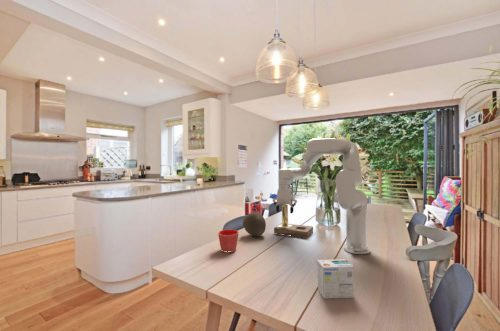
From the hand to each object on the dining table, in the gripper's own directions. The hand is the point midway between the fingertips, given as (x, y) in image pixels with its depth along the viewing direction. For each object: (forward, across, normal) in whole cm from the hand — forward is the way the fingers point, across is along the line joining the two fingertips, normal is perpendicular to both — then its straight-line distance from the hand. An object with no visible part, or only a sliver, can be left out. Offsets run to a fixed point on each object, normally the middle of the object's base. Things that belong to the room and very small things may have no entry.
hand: (284, 212), depth 157 cm
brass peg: (+9, 0, 0) cm, 9 cm away
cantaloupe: (+13, +14, +17) cm, 26 cm away
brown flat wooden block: (+13, -6, 0) cm, 15 cm away
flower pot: (+13, +15, +45) cm, 49 cm away
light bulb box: (+14, -42, +63) cm, 77 cm away
